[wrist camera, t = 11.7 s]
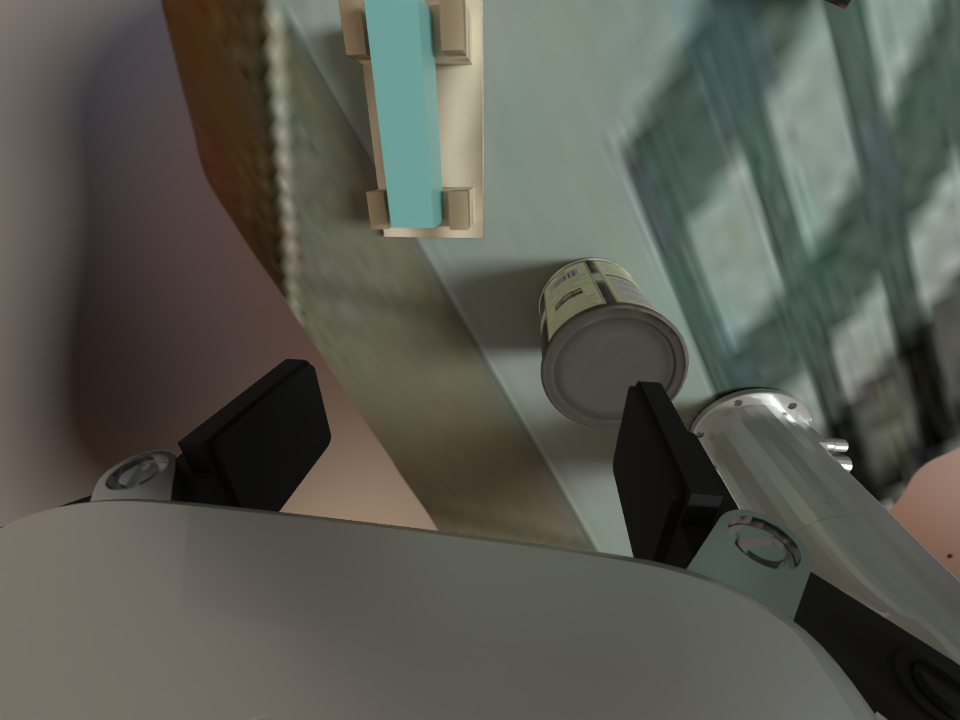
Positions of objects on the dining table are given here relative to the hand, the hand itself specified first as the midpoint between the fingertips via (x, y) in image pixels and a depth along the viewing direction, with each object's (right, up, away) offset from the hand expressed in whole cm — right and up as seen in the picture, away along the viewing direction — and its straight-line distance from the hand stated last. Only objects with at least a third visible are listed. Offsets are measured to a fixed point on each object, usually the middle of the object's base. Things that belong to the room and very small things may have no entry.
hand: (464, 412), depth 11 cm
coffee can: (+12, +7, +29) cm, 32 cm away
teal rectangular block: (-5, +20, +19) cm, 28 cm away
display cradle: (-4, +22, +23) cm, 32 cm away
